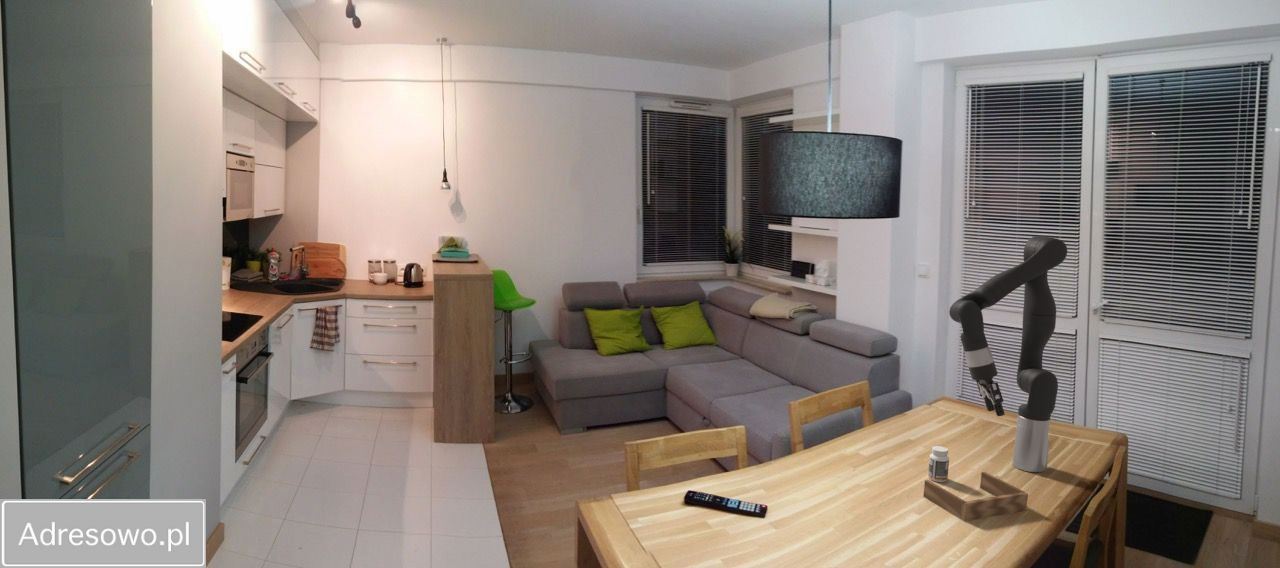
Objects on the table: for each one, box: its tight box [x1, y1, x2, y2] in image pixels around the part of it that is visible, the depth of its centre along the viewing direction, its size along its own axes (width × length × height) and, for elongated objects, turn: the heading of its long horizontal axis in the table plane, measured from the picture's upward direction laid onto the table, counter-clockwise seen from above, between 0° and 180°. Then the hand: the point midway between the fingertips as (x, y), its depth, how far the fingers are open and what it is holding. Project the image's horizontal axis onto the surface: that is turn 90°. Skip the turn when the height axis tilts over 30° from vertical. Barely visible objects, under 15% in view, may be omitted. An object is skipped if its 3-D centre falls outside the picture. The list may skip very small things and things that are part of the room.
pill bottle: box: [927, 445, 950, 483], centre depth 225 cm, size 6×6×10 cm
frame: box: [923, 471, 1029, 522], centre depth 209 cm, size 22×16×5 cm
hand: (996, 413), depth 225 cm, fingers open, 8 cm apart
